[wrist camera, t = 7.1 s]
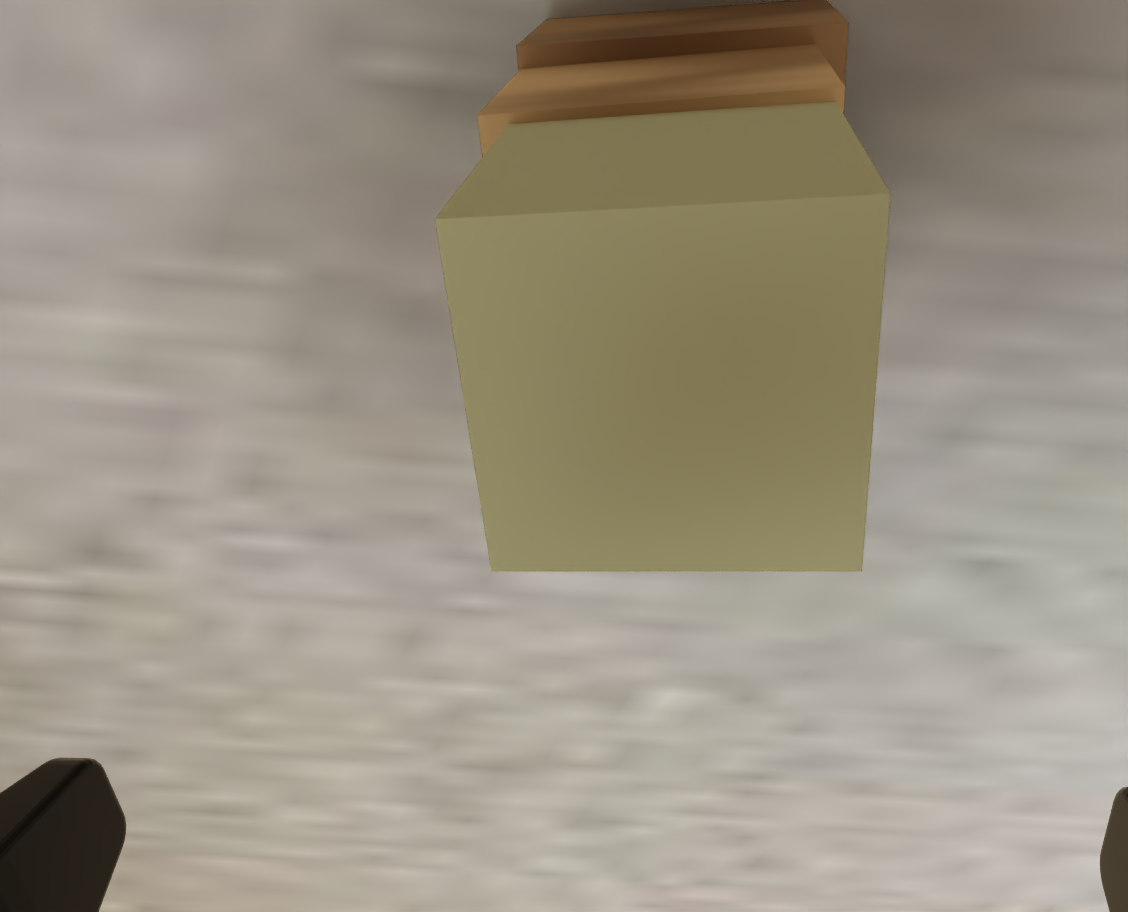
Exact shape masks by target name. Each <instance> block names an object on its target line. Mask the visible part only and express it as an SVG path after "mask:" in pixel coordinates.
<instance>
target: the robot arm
mask: <svg viewBox="0 0 1128 912" xmlns="http://www.w3.org/2000/svg"><path fill="white" fill-rule="evenodd" d="M125 835H126V821H125V816H124V813H123V811H122V808H121V806H120V804H119V802H118V799H117V797H116V795H115V793H114V791H113V788H112V786H111V784H110V782H109V779H108V777H107V775H106V773H105V770H104V768H103V767H102V765H101V764H100V763H98V762H97V761H96V760H94V759H90V758H56V759H52V760H50V761H48V762H46V763H44V764H43V765H41V766H40V767H38V768H37V769H35V770H34V771H32V772H31V773H29V774H28V775H26V776H25V777H23V778H22V779H20V780H19V781H17V782H16V783H14V784H13V785H12V786H10V787H9V788H7V789H6V790H4V791H3V792H1V793H0V912H99V909H100V907H101V904H102V901H103V899H104V896H105V893H106V891H107V888H108V885H109V882H110V880H111V877H112V874H113V872H114V869H115V866H116V863H117V861H118V858H119V855H120V853H121V850H122V847H123V844H124V840H125ZM1100 873H1101V879H1102V884H1103V888H1104V892H1105V896H1106V900H1107V903H1108V907H1109V911H1110V912H1128V787H1125V788H1122V789H1121V790H1119V792H1118V793H1117V794H1116V796H1115V799H1114V802H1113V806H1112V810H1111V814H1110V818H1109V822H1108V826H1107V830H1106V833H1105V837H1104V841H1103V845H1102V849H1101V855H1100Z"/></svg>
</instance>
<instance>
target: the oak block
mask: <svg viewBox="0 0 1128 912" xmlns="http://www.w3.org/2000/svg"><path fill="white" fill-rule="evenodd" d="M844 93H845V86H844V85H843V83H842V82H841V80H840V79H839V77H838V76H837V74H836V73H835V71H834V70H833V68H832V67H831V65H830V64H829V62H828V61H827V59H826V58H825V56H824V55H823V53H822V52H821V50H820V49H819V47H818V46H817V45H816V44H808V45H796V46H785V47H773V48H761V49H750V50H738V51H726V52H714V53H703V54H691V55H679V56H667V57H656V58H644V59H632V60H620V61H609V62H597V63H585V64H574V65H562V66H550V67H538V68H527V69H521V70H520V71H519V72H518V73H517V74H516V75H515V76H514V77H513V78H512V79H511V80H510V81H509V82H508V83H507V84H506V85H505V86H504V87H503V88H502V89H501V90H500V92H499V93H498V94H497V95H496V96H495V97H494V98H493V99H492V100H491V101H490V102H489V103H488V104H487V105H486V106H485V107H484V108H483V109H482V110H481V111H480V112H479V113H478V114H477V121H478V129H479V136H480V143H481V151H482V158H483V157H484V155H485V154H486V153H487V151H488V150H489V149H490V147H491V146H492V145H493V144H494V142H495V141H496V140H497V138H498V137H499V136H500V135H501V133H502V132H503V131H504V129H505V128H506V127H507V126H508V124H515V123H529V122H543V121H557V120H571V119H585V118H600V117H614V116H628V115H642V114H656V113H671V112H685V111H699V110H713V109H727V108H741V107H756V106H770V105H784V104H798V103H812V102H827V101H836V103H837V104H838V106H839V108H840V109H841V111H842V113H843V114H844Z"/></svg>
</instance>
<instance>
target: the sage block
mask: <svg viewBox="0 0 1128 912" xmlns="http://www.w3.org/2000/svg"><path fill="white" fill-rule="evenodd" d="M890 195H891V194H890V192H889V190H888V189H887V187H886V185H885V183H884V182H883V180H882V178H881V177H880V175H879V173H878V172H877V170H876V168H875V167H874V165H873V163H872V162H871V160H870V158H869V157H868V155H867V153H866V151H865V150H864V148H863V146H862V145H861V143H860V141H859V140H858V138H857V136H856V135H855V133H854V131H853V130H852V128H851V126H850V124H849V123H848V121H847V119H846V118H845V116H844V114H843V113H842V111H841V109H840V108H839V106H838V104H837V103H836V101H827V102H812V103H798V104H784V105H770V106H756V107H741V108H727V109H713V110H699V111H685V112H671V113H656V114H642V115H628V116H614V117H600V118H585V119H571V120H557V121H543V122H529V123H515V124H508V126H507V127H506V128H505V129H504V131H503V132H502V133H501V135H500V136H499V137H498V138H497V140H496V141H495V142H494V144H493V145H492V146H491V147H490V149H489V150H488V151H487V153H486V154H485V155H484V157H483V158H482V159H481V160H480V162H479V163H478V164H477V166H476V167H475V168H474V169H473V171H472V172H471V173H470V175H469V176H468V177H467V178H466V180H465V181H464V182H463V184H462V185H461V186H460V187H459V189H458V190H457V191H456V193H455V194H454V195H453V197H452V198H451V199H450V200H449V202H448V203H447V204H446V206H445V207H444V208H443V209H442V211H441V212H440V213H439V215H438V216H437V217H436V218H435V224H436V230H437V236H438V243H439V249H440V255H441V261H442V268H443V274H444V280H445V286H446V292H447V299H448V305H449V311H450V317H451V324H452V330H453V336H454V342H455V348H456V355H457V361H458V367H459V373H460V380H461V386H462V392H463V398H464V404H465V411H466V417H467V423H468V429H469V436H470V442H471V448H472V454H473V460H474V467H475V473H476V479H477V485H478V492H479V498H480V504H481V510H482V516H483V523H484V529H485V535H486V541H487V548H488V554H489V560H490V566H491V571H862V563H863V550H864V537H865V523H866V510H867V497H868V484H869V471H870V458H871V445H872V432H873V418H874V405H875V392H876V379H877V366H878V353H879V340H880V327H881V313H882V300H883V287H884V274H885V261H886V248H887V235H888V222H889V208H890Z"/></svg>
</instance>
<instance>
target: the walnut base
mask: <svg viewBox="0 0 1128 912" xmlns="http://www.w3.org/2000/svg"><path fill="white" fill-rule="evenodd" d="M848 24H849V22H848V21H847V20H846V19H845V18H844V17H843V16H842V15H841V14H840V13H839V12H838V11H837V10H835V9H834V8H833V7H832V6H831V5H830V4H829V3H828V2H827V1H826V0H798V1H784V2H771V3H758V4H744V5H731V6H718V7H704V8H691V9H678V10H664V11H651V12H637V13H624V14H611V15H597V16H584V17H571V18H557V19H546V20H545V21H544V22H543V23H542V24H541V25H540V26H538V27H537V28H536V29H535V30H534V31H533V32H532V33H530V34H529V35H528V36H527V37H526V38H525V39H524V40H523V41H521V42H520V43H519V44H518V45H517V46H516V50H517V60H518V70H519V71H520V70H521V69H527V68H538V67H550V66H562V65H574V64H585V63H597V62H609V61H620V60H632V59H644V58H656V57H667V56H679V55H691V54H703V53H714V52H726V51H738V50H750V49H761V48H773V47H785V46H796V45H808V44H816V45H817V46H818V47H819V49H820V50H821V52H822V53H823V55H824V56H825V58H826V59H827V61H828V62H829V64H830V65H831V67H832V68H833V70H834V71H835V73H836V74H837V76H838V77H839V79H840V80H841V82H842V83H843V85H844V86H845V75H846V58H847V41H848Z"/></svg>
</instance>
